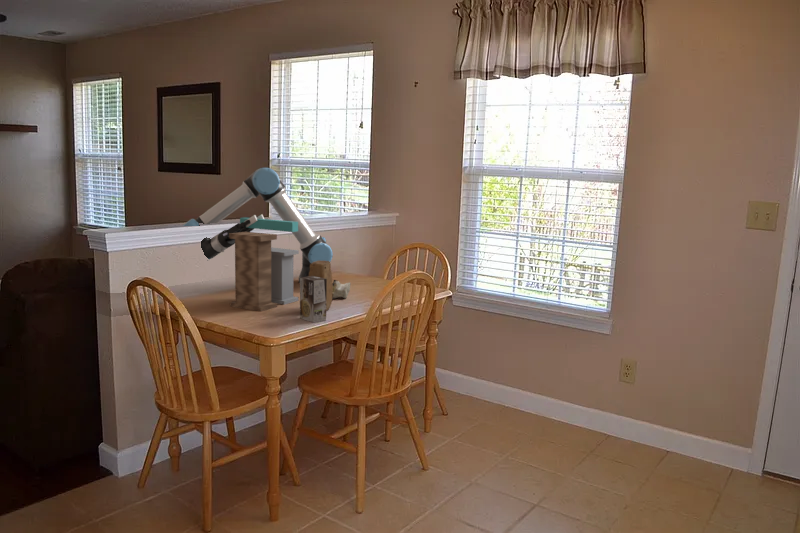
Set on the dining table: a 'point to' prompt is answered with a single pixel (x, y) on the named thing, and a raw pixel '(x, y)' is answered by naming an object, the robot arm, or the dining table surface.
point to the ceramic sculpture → (340, 289)
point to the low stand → (282, 276)
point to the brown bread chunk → (323, 271)
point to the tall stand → (253, 270)
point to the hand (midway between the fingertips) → (259, 217)
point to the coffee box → (313, 298)
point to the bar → (273, 225)
